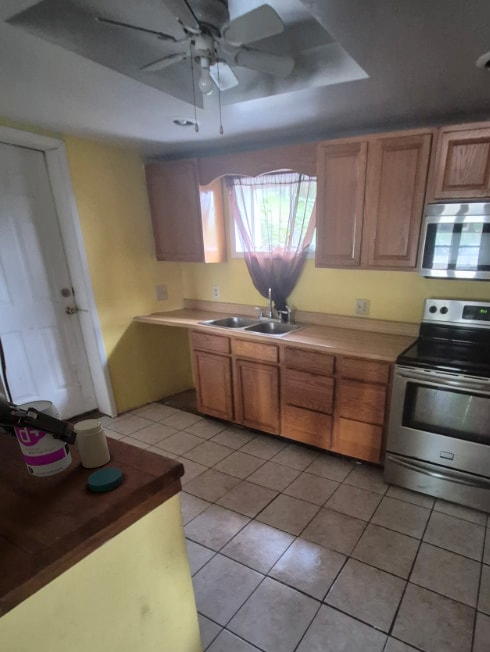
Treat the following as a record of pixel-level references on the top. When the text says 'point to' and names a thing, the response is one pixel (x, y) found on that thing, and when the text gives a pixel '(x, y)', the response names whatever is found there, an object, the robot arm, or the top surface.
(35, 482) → the top surface
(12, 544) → the top surface
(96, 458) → the jar
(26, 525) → the top surface
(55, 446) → the supplement can
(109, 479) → the jar lid
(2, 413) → the robot arm
